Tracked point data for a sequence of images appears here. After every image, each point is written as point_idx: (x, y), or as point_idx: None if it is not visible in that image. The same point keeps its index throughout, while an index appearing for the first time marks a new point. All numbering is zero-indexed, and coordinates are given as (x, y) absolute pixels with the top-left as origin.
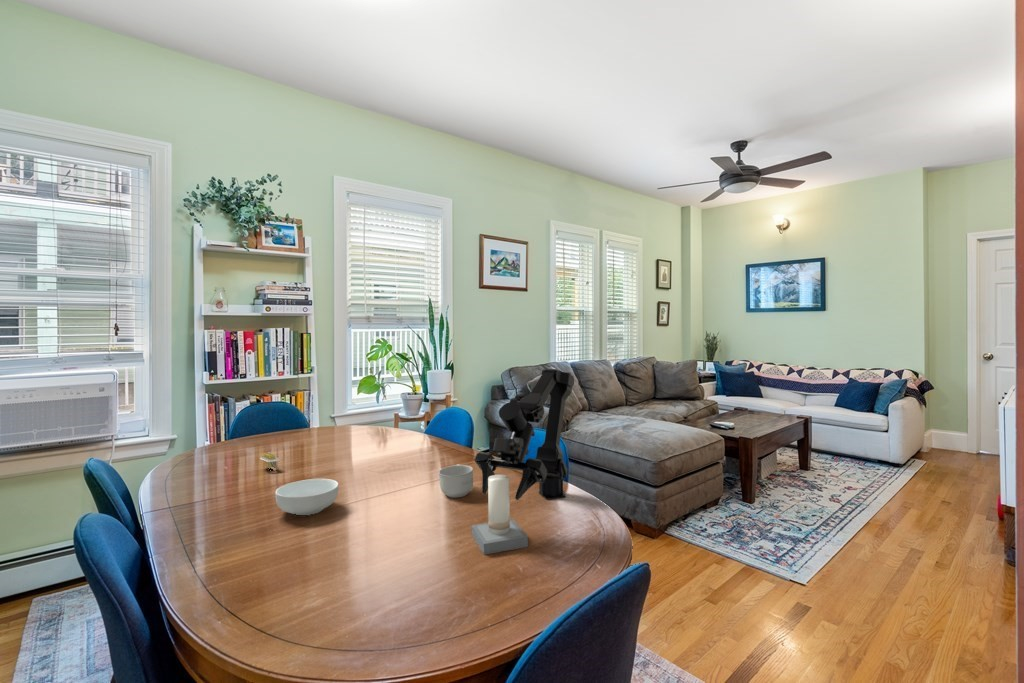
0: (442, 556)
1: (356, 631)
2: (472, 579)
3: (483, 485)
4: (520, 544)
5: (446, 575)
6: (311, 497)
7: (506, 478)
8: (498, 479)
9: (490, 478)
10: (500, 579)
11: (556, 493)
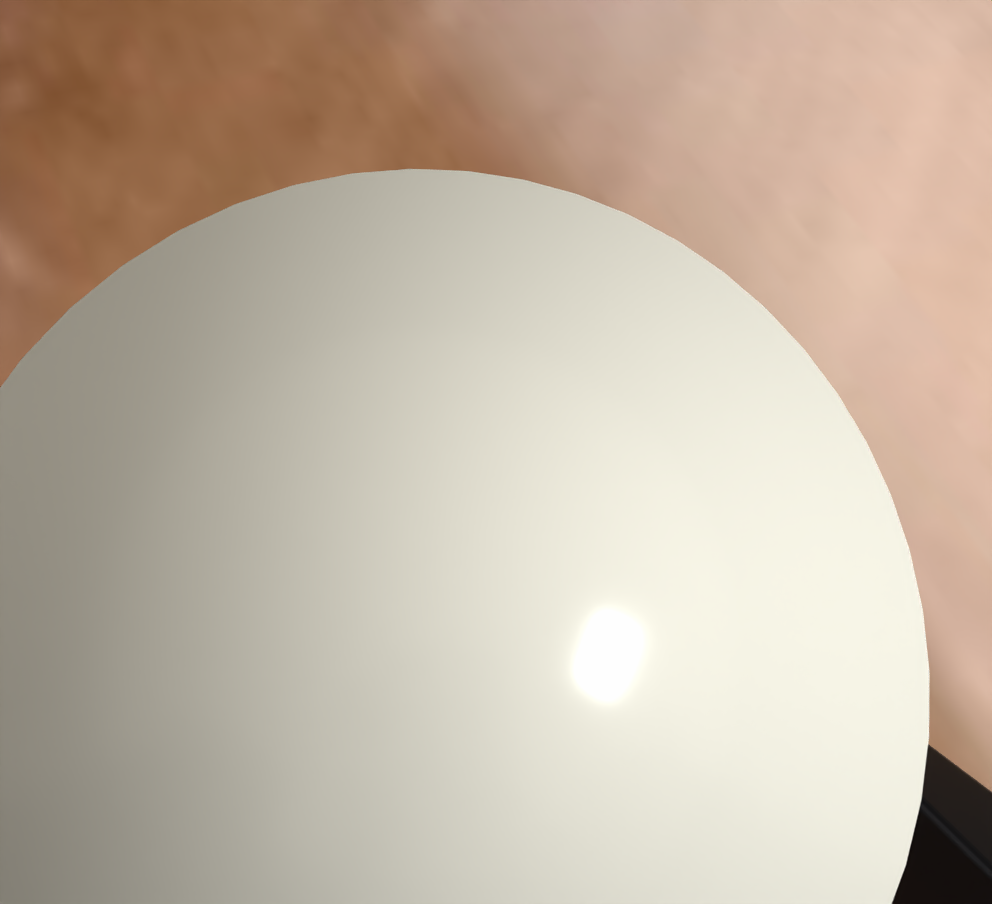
0: (670, 232)
1: None
2: (310, 16)
3: (934, 767)
4: None
5: (500, 25)
6: None
7: (46, 688)
8: (389, 405)
9: (762, 430)
10: (107, 54)
11: None
